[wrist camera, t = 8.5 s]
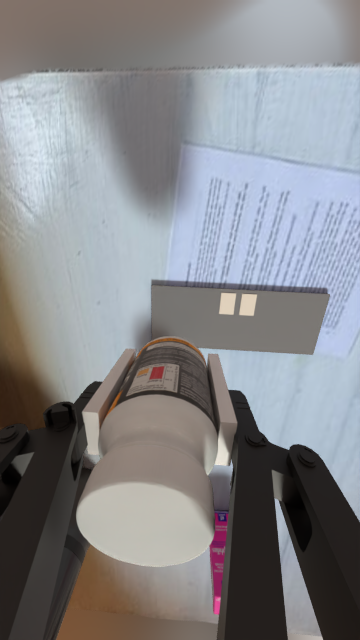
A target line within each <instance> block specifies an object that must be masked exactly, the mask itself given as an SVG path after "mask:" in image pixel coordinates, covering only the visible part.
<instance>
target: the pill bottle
mask: <svg viewBox="0 0 360 640" xmlns="http://www.w3.org/2000/svg"><path fill="white" fill-rule="evenodd" d="M98 451H99V456H100V461H99V462H98V463H97V464H96V465H95V467H94V468H93V470H92V472H91V474H90V477H89V479H88V481H87V483H86V486H85V488H84V491H83V493H82V495H81V498H80V500H79V502H78V506H77V511H76V520H77V525H78V527H79V530H80V532H81V533H82V535H83V536H84V537H85V538H86V539H87V540H88V542H89V543H90V544H91V545H93V546H94V547H95V548H97V549H98V550H100V551H101V552H103V553H104V554H106V555H108V556H110V557H113V558H115V559H118V560H120V561H124V562H127V563H132V564H136V565H142V566H151V567H152V566H155V567H160V566H170V565H176V564H181V563H184V562H187V561H189V560H192V559H194V558H196V557H198V556H199V555H201V554H202V553H203V552H204V551H205V550H206V549H207V548H208V547H209V545H210V544H211V542H212V540H213V537H214V533H215V513H214V500H213V488H212V484H211V481H210V479H209V477H208V475H209V473H210V472H211V470H212V468H213V466H214V464H215V461H216V458H217V453H218V435H217V428H216V422H215V415H214V409H213V404H212V397H211V391H210V382H209V377H208V371H207V366H206V362H205V359H204V356H203V355H202V353H201V351H200V350H199V349H198V348H197V347H196V346H195V345H194V344H193V343H191V342H189V341H188V340H185V339H183V338H180V337H173V336H165V337H160V338H157V339H154V340H152V341H150V342H149V343H147V344H146V345H145V346H144V347H143V348H142V349H141V350H140V352H139V353H138V355H137V357H136V359H135V361H134V363H133V364H132V366H131V368H130V370H129V372H128V374H127V376H126V378H125V380H124V383H123V385H122V386H121V388H120V390H119V392H118V394H117V396H116V398H115V400H114V402H113V404H112V406H111V407H110V409H109V411H108V413H107V415H106V417H105V419H104V421H103V424H102V426H101V429H100V432H99V437H98Z"/></svg>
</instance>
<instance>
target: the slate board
mask: <svg viewBox="0 0 360 640" xmlns="http://www.w3.org/2000/svg"><path fill="white" fill-rule="evenodd" d="M329 297H330V294H325V293H305V292H285V291H264V290H244V289H224V288H203V287H183V286H163V285H152V340H154V339H157V338H160V337H165V336H173V337H180V338H183V339H185V340H188V341H189V342H191V343H193V344H194V345H195V346H196V347H197V348H210V349H226V350H243V351H260V352H276V353H293V354H310V355H313V353H314V349H315V346H316V342H317V339H318V335H319V332H320V328H321V325H322V322H323V318H324V315H325V311H326V308H327V304H328V301H329Z"/></svg>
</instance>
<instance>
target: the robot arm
mask: <svg viewBox="0 0 360 640" xmlns="http://www.w3.org/2000/svg"><path fill="white" fill-rule="evenodd" d="M135 359H136V349H126V350H125V351H124V352H123V354H122V355H121V357H120V358H119V360H118V361H117V362H116V364H115V365H114V367H113V368H112V370H111V371H110V372H109V374H108V375H107V377H106V378H105V380H104V381H103V382H97V381H95V382H93V383H92V384H90V385H89V386H88V387H87V388H86V389H85V390H84V392H83V393H82V394H81V395H80V397H79V398H78V399H77V400H76V402H75V403H74V404H73V403H71V402H60V403H57V404H54V405H52V406H51V407H49V408H48V409H46V411H45V412H44V413H43V416H44V421H45V425H46V427H45V428H41V429H35V430H30V431H28V429H27V426H26V425H25V424H13V425H10V426H7V427H5V428H4V429H2V430H0V640H56V638H57V635H58V633H59V630H60V627H61V624H62V621H63V618H64V615H65V612H66V609H67V607H68V604H69V601H70V598H71V595H72V592H73V589H74V586H75V583H76V581H77V578H78V575H79V572H80V569H81V566H82V563H83V560H84V557H85V555H86V552H87V550H88V548H89V546H90V543H89V542H88V540H87V539H86V538H85V537H84V536H83V535H82V533H81V532H80V530H79V527H78V525H77V520H76V511H77V506H78V502H79V500H80V498H81V495H82V493H83V491H84V488H85V486H86V483H87V481H88V479H89V477H90V474H91V472H92V471H90V470H87V469H84V468H82V465H83V453H84V451H85V449H86V447H87V448H88V454H94V455H99V451H98V437H99V432H100V429H101V426H102V424H103V421H104V419H105V417H106V415H107V413H108V411H109V409H110V407H111V406H112V404H113V402H114V400H115V398H116V396H117V394H118V392H119V390H120V388H121V386H122V385H123V383H124V380H125V378H126V376H127V374H128V372H129V370H130V368H131V366H132V364H133V363H134V361H135ZM207 371H208V377H209V382H210V391H211V397H212V404H213V409H214V415H215V422H216V428H217V435H218V453H217V458H216V461H215V464H216V465H228V466H230V463H231V459H232V464H233V472H232V477H231V483H230V485H231V491H230V502H229V513H228V524H227V535H226V545H225V556H224V567H223V578H222V589H221V600H220V610H219V621H218V633H217V640H288V638H287V627H286V616H285V606H284V595H283V585H282V574H281V563H280V553H279V542H278V531H277V521H276V510H275V500H274V498H276V499H278V500H279V503H280V506H281V509H282V512H283V515H284V519H285V522H286V525H287V528H288V531H289V534H290V537H291V540H292V544H293V547H294V550H295V553H296V556H297V559H298V562H299V565H300V569H301V572H302V575H303V578H304V581H305V584H306V587H307V590H308V594H309V597H310V600H311V603H312V606H313V609H314V612H315V615H316V619H317V622H318V625H319V628H320V631H321V634H322V637H323V640H360V522H359V520H358V518H357V517H356V515H355V513H354V512H353V510H352V508H351V507H350V505H349V503H348V502H347V500H346V498H345V497H344V495H343V493H342V492H341V490H340V488H339V487H338V485H337V483H336V482H335V480H334V478H333V477H332V475H331V473H330V472H329V470H328V468H327V467H326V465H325V463H324V462H323V460H322V459H321V458H320V456H319V455H318V454H317V453H315V452H314V451H313V450H312V449H310V448H308V447H306V446H303V445H299V444H297V445H292V446H291V447H290V449H289V450H287V449H284V448H282V447H279V446H276V445H274V444H272V443H270V442H269V441H268V440H267V438H266V437H265V435H263V434H262V433H261V432H260V431H259V430H258V427H257V425H256V422H255V419H254V417H253V414H252V412H251V410H250V407H249V404H248V402H247V399H246V397H245V395H244V394H243V393H242V392H241V391H237V390H228V388H227V384H226V381H225V377H224V374H223V370H222V367H221V363H220V360H219V356H218V354H208V361H207Z"/></svg>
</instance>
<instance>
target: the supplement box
mask: <svg viewBox="0 0 360 640" xmlns="http://www.w3.org/2000/svg"><path fill="white" fill-rule="evenodd" d="M214 513H215V533H214V537H213V540H212V542H211V544H210V545H209V546H210V562H211V579H212V595H213V611H214V614H219V610H220V600H221V589H222V578H223V567H224V556H225V545H226V535H227V524H228V513H229V511H214Z"/></svg>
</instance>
